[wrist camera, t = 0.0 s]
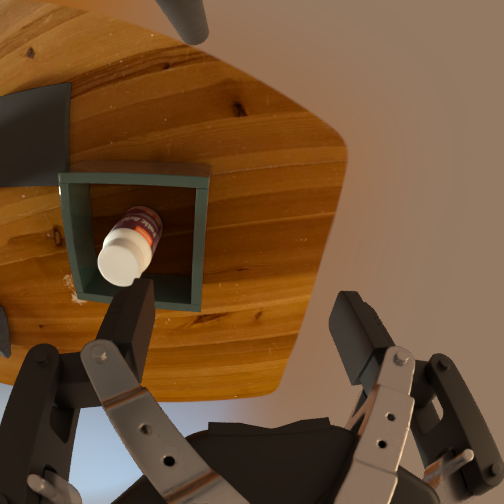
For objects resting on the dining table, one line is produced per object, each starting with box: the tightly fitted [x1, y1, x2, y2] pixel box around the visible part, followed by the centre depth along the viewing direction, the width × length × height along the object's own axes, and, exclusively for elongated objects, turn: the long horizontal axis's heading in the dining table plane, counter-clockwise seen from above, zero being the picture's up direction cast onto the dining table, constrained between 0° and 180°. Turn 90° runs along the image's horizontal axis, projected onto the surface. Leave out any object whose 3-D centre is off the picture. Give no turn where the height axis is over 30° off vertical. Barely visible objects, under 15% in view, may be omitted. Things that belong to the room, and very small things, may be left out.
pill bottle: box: [98, 206, 163, 286], centre depth 26 cm, size 5×5×8 cm
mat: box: [0, 82, 72, 187], centre depth 22 cm, size 11×11×1 cm
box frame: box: [59, 161, 212, 312], centre depth 27 cm, size 14×14×5 cm
